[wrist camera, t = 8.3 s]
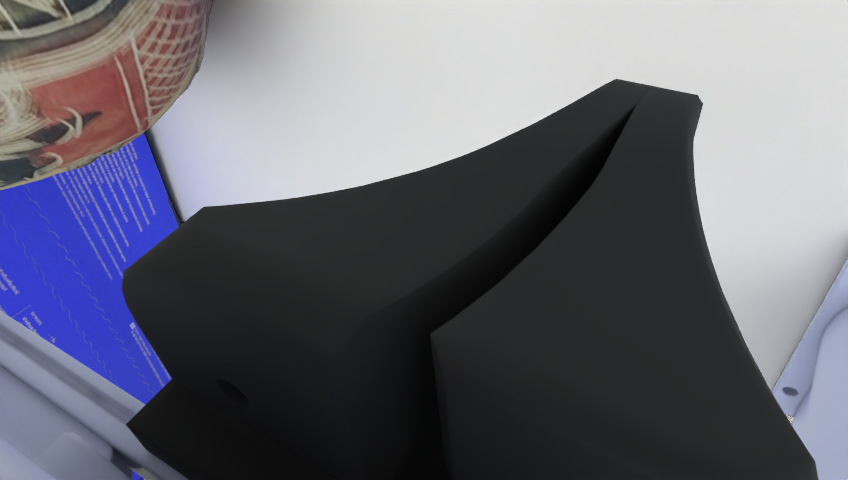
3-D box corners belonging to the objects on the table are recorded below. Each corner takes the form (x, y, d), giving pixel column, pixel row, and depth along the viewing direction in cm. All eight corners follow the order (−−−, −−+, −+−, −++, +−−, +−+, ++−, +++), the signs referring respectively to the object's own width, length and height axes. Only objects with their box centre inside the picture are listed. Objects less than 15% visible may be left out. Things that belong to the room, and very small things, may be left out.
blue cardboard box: (29, -1, 38) (-345, 150, 27) (119, 37, 35) (-260, 223, 24) (186, 344, 66) (33, 486, 55) (243, 380, 64) (94, 538, 53)
